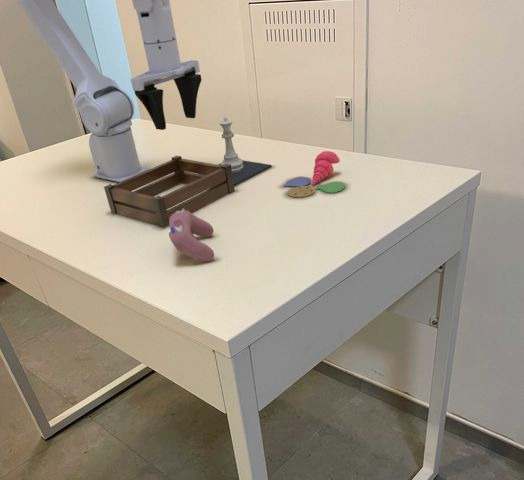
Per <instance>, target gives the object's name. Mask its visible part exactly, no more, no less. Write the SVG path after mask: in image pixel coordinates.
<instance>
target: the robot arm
mask: <svg viewBox="0 0 524 480" xmlns="http://www.w3.org/2000/svg"><path fill="white" fill-rule="evenodd" d="M15 1H16V3H17V5H18V7H19V8H20V9H21V10H22V12H23V14H24V15H25V16H26V18H27V19H28V20H29V22H30V24H31V25H32V26H33V29H35V31H36V32H37V34H38V35H39V37H40V38H41V40H42V42H43V43H44V44H45V46H46V47H47V48H48V50H49V51H50V53H51V55H52V56H53V57H54V59H55V60H56V61H57V63H58V64H59V66H60V67H61V69H62V70H63V72H64V73H65V75H66V76H67V77H68V79H69V81H70V82H71V84H72V85H73V86H74V88H75V89H76V92H75V95H74V100H73V105H74V107H75V108H76V109H77V111H78V113H79V115H80V119H81V122H82V124H83V126H84V127H85V128H86V129H87V130H88V131H89V132H90V133H91V134H90V135H89V138H88V147H89V151H90V154H91V157H92V161H93V164H94V167H95V171H96V173H94V174H93V176H94V177H95V178H99V179H103V180H108V181H112V182H116V183H119V182H122V181H124V180H126V179H128V178H131V177H133V176H135V175H138V174H140V173H142V172H145V171H147V170H149V169H151V167H148V166H143V165H141V163H140V159H139V155H138V151H137V148H136V143H135V139H134V136H133V135H134V134H133V131H132V128H131V126H133V123H132V119H133V117H134V116H135V115H134V114H135V106H134V103H133V100H132V99H131V96H130V95H129V94H128V93H127V92H126V91H125V90H123V89H122V88H120V86H119V85H118V83H117V82H116V80H114V79H112V78H111V77H108V76H107V75H104V74H102V73H100V70H99V69H98V68H97V66H96V65H95V63H94V62H93V60H92V59H91V57H90V55H89V54H88V53H87V51H86V49H85V48H84V47H83V46H82V43H81V42H80V41H79V39H78V38H77V36H76V35H75V33H74V32H73V30H72V28H71V27H70V26H69V23H67V21H66V20H65V18H64V17H63V15H62V13H61V12H60V11H59V9H58V8H57V6H56V5H55V3H54V1H53V0H15ZM131 1H132V5H133V9H134V10H135V12H136V15H137V20H138V24H139V30H140V34H141V39H142V43H143V48H144V52H145V57H146V62H147V66H148V71H146V72H143V73H141V74H139V75H137V76H134V77H131V78H130V83H131V88H132V91H134V95H135V96H136V98H137V99H138V100H139V101H140V102H141V104H142V105H143V107H144V108H145V109H146V112H147V113H148V115H149V117H150V119H151V121H152V123H153V126H154V127H155V129H156V130H159V131H160V130H161V131H164V130H167V122H166V117H165V112H164V100H163V99H164V90H163V89H162V88H157V85H160V84H163V83H166V82H170V81H173V82H174V84H175V87H176V89H177V90H178V93H179V96H180V101H181V104H182V105H181V106H182V110H183V113H184V116H185V118H186V119H195V118H196V116H197V100H198V93H199V89H200V86H201V82H202V75H201V74H198V73H200V72H201V70H200V64H199V60H196V59H195V60H194V59H193V60H192V59H191V60H188V61H183V62H182V61H181V57H180V52H179V46H178V45H179V44H178V41H177V35H176V29H175V23H174V19H173V14H172V13H173V12H172V8H171V2H170V0H131Z"/></svg>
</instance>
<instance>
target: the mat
mask: <svg viewBox="0 0 524 480" xmlns="http://www.w3.org/2000/svg"><path fill="white" fill-rule="evenodd" d="M241 160H242V161H243V166H244V169H243V170H242V171H241V172H239V173H235V174H232V175H233V182H234V187H236V186H238V185H239V184H242V183H243V182H245V181H248V180H249V179H251V178H253V177H255V176H257V175H259V174H261V173H263V172H265V171H267V170H269V169H271V168H272V167H273V165H272V164H268V163H262V162H255V161H250V160H243V159H241ZM217 165H221V163H219V164H218V163H217ZM200 175H202V174H200ZM205 176H206V175H205Z"/></svg>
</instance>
